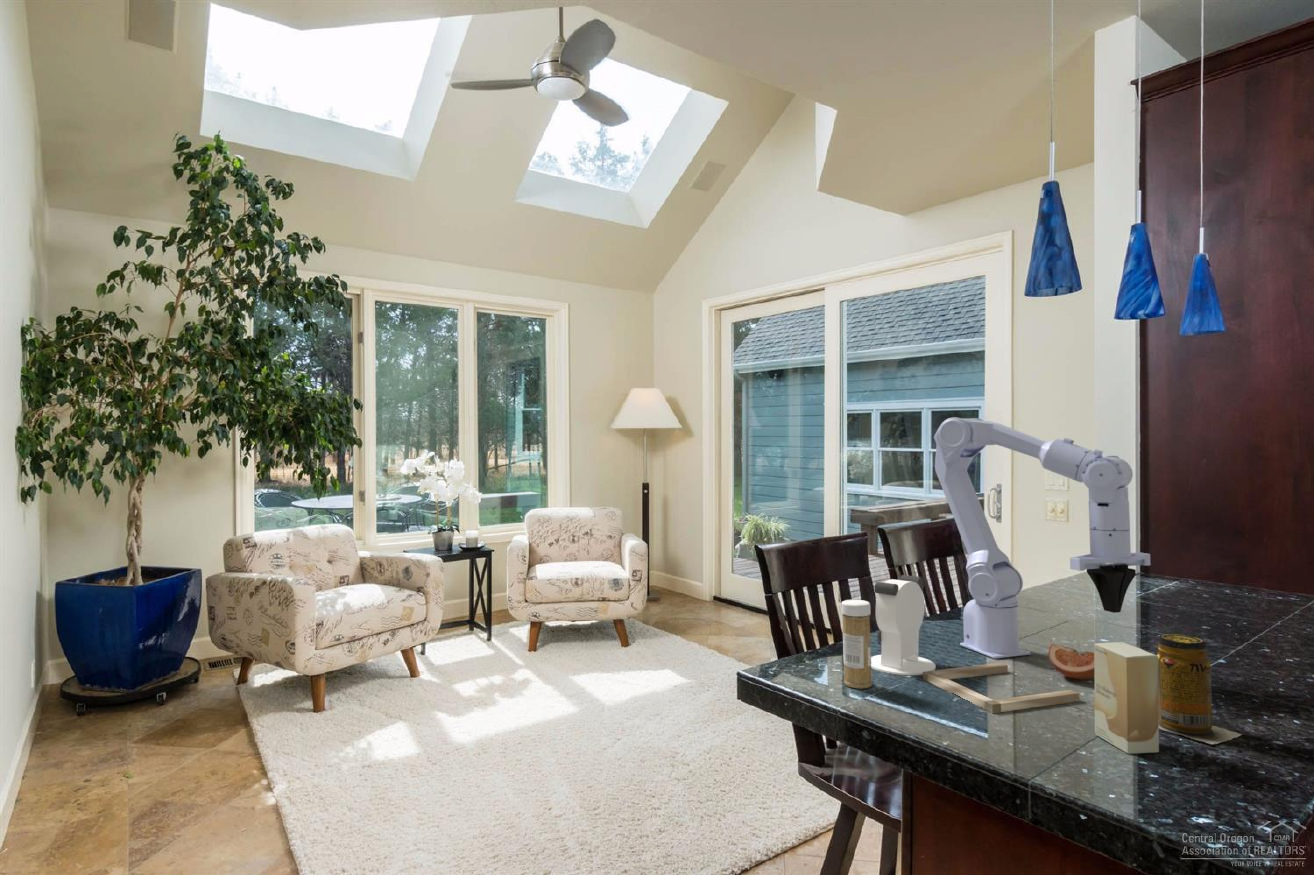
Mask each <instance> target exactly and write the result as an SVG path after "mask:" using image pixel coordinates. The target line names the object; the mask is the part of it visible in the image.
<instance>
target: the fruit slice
mask: <svg viewBox="0 0 1314 875" xmlns="http://www.w3.org/2000/svg"><path fill="white" fill-rule="evenodd" d="M1048 658H1049V661H1050V663H1051V665H1052V667H1054V669H1055V670H1056V671H1058V672H1059V673H1061V674H1062V675H1063V676H1066V677H1068V678H1070V679H1074V680H1078V681H1079V680H1080V681H1084V680H1085V681H1086V680H1090V679H1092V678H1095V676H1094V652H1093V651H1092V652H1091V651H1083V652H1082V651H1077V649H1074V648H1071V647H1069V646H1064V645H1060V644H1053V643H1050V646H1049V648H1048Z"/></svg>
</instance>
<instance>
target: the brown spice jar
mask: <svg viewBox="0 0 1314 875" xmlns="http://www.w3.org/2000/svg"><path fill="white" fill-rule="evenodd" d="M840 610H841V616H842V655H843V658H842V659H843V660H842V661H843V671H844V672H843V674H844V679H843V683H844V685H845V686H847V687H849V688H851V689H852V688H854V689H859V690H860V689H868V688H870V687H872V686H873V681H872V680H873V679H872V668H871V657H872V647H871V626H870V625H871V624H870V617H871V614H872V613H871V603H870V602H869V601H867V600H862V599H845V600H843V601H841V608H840Z"/></svg>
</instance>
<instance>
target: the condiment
mask: <svg viewBox="0 0 1314 875" xmlns="http://www.w3.org/2000/svg"><path fill="white" fill-rule="evenodd" d="M1157 641H1158V648H1157V649H1158V652H1159V653H1158V654H1156V655H1157V656H1158V696H1159V730H1161V731H1165V732H1168V733H1172V734H1175V735H1181V736H1183V737H1186V738H1190V739H1191V740H1195V741H1199V742H1204V743H1206V744H1210V745H1217V744H1220V743H1224V742H1227V741H1231V740H1233V739H1234V738H1238V737H1240V736H1242V735H1243V734H1241V733H1238V732H1236V731H1232V730H1228V729H1226V728H1222V727H1219V726H1216V725H1214V724H1213V702H1212V698H1213V696H1212V672H1211V669H1212V667H1211V663H1210V662H1209V660H1208V652H1207V642H1206V641H1205V640H1203V639H1202V638H1199V637H1194V636H1191V635H1185V634H1176V633H1175V634H1174V633H1173V634H1171V633H1169V634H1162V635H1159V637H1158V640H1157Z"/></svg>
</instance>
